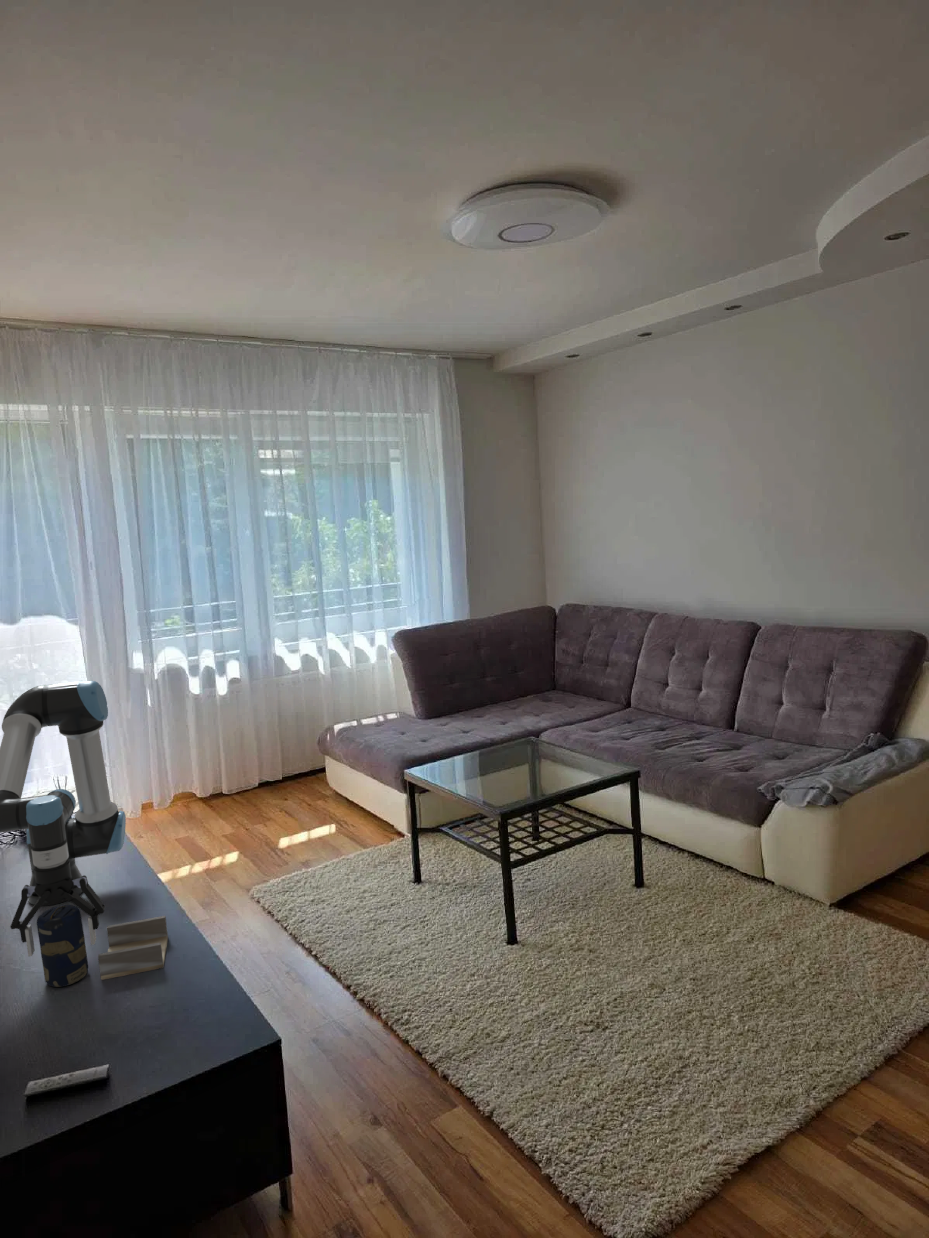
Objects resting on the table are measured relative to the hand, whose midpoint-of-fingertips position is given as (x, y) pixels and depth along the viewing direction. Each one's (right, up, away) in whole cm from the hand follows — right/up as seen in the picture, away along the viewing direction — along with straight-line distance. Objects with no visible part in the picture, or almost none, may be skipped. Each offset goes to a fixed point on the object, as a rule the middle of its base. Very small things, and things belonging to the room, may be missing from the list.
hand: (62, 947), depth 196 cm
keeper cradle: (+14, -6, +9) cm, 18 cm away
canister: (0, -8, +1) cm, 8 cm away
